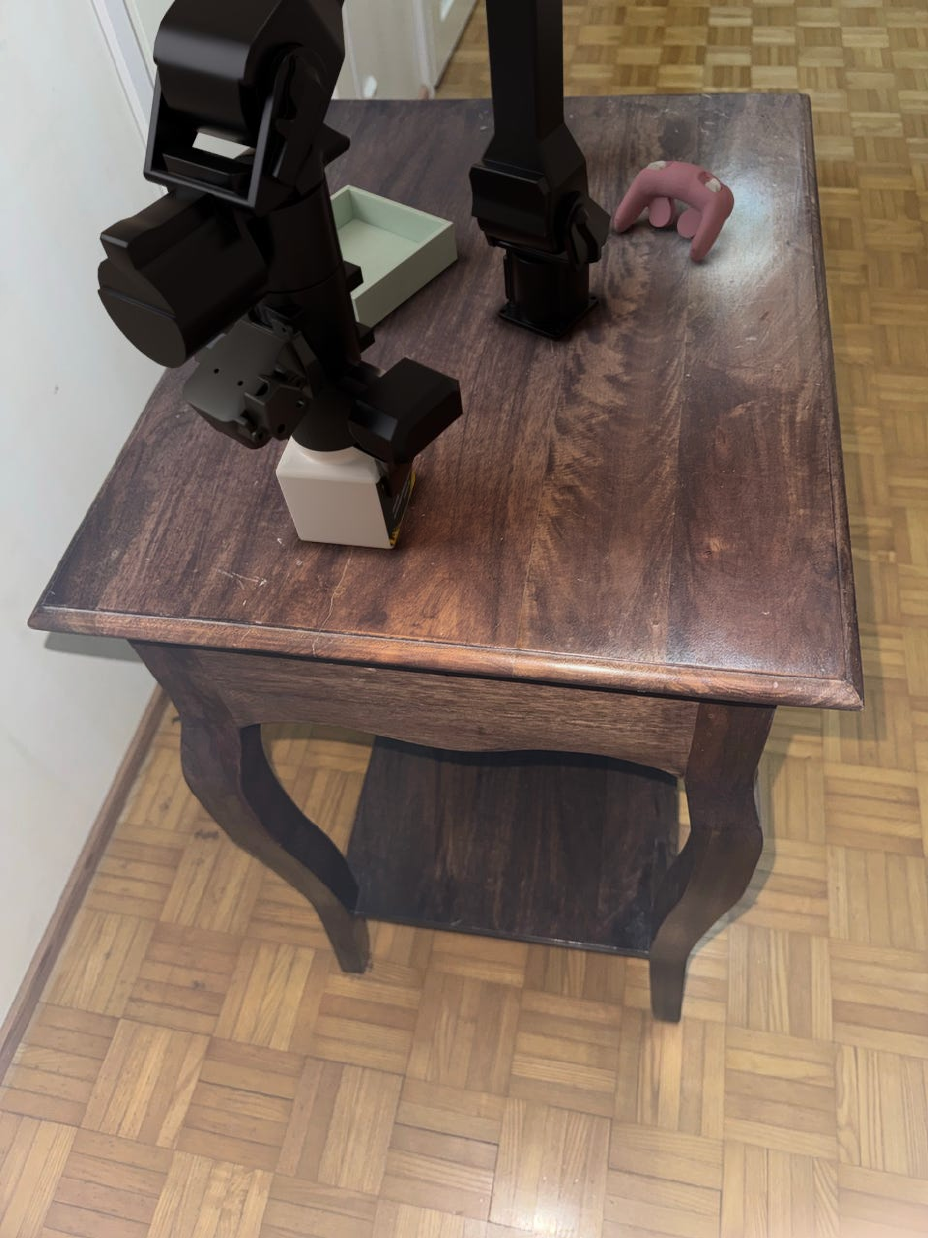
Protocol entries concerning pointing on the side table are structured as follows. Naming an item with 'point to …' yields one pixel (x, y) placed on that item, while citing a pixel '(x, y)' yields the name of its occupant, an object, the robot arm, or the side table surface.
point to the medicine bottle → (337, 481)
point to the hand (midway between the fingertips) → (345, 466)
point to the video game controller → (688, 186)
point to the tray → (389, 249)
